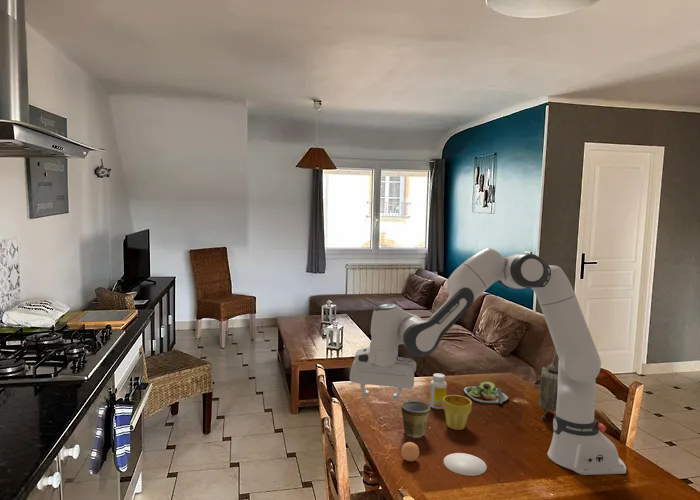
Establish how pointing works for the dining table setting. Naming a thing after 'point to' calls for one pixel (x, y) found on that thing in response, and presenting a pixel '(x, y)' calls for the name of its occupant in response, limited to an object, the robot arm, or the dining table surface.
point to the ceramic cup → (415, 417)
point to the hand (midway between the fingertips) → (380, 398)
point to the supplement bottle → (437, 391)
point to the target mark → (465, 464)
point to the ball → (410, 451)
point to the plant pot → (456, 411)
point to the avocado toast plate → (486, 393)
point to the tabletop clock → (549, 388)
